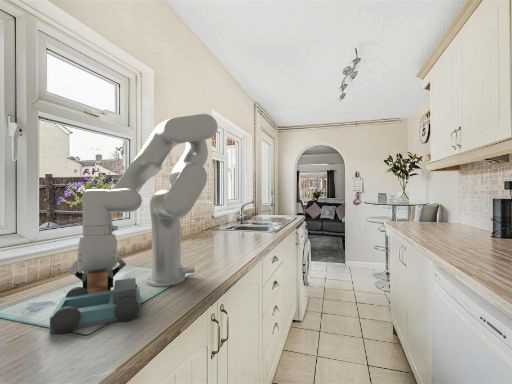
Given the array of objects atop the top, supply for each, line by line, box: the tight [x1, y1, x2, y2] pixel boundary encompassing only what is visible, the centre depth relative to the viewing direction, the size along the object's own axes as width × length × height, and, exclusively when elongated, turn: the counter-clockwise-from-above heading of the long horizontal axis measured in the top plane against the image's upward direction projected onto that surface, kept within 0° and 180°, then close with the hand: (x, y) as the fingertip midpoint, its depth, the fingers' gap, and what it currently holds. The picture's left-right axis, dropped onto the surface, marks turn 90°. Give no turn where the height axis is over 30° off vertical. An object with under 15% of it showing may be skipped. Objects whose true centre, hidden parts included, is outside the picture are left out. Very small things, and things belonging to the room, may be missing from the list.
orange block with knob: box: [87, 269, 109, 293], centre depth 78 cm, size 5×5×8 cm
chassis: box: [49, 277, 142, 335], centre depth 66 cm, size 18×15×6 cm
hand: (98, 291), depth 78 cm, fingers closed on orange block with knob, 5 cm apart
